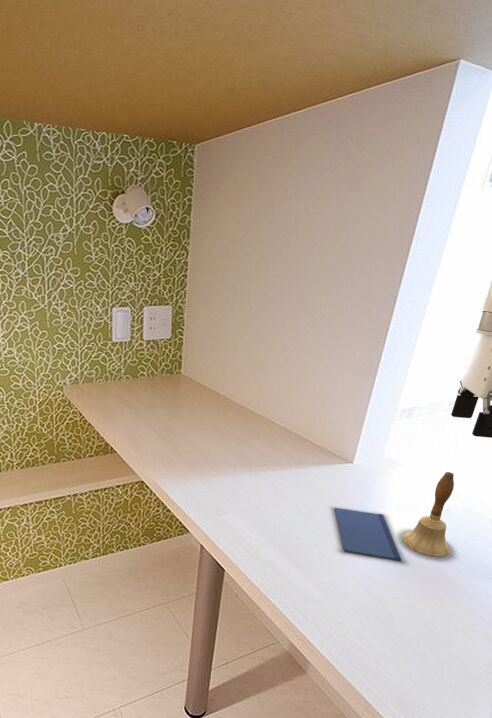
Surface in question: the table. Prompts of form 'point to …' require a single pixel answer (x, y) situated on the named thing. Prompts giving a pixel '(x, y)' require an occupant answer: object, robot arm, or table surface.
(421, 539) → the hand bell
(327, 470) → the table surface
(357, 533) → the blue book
